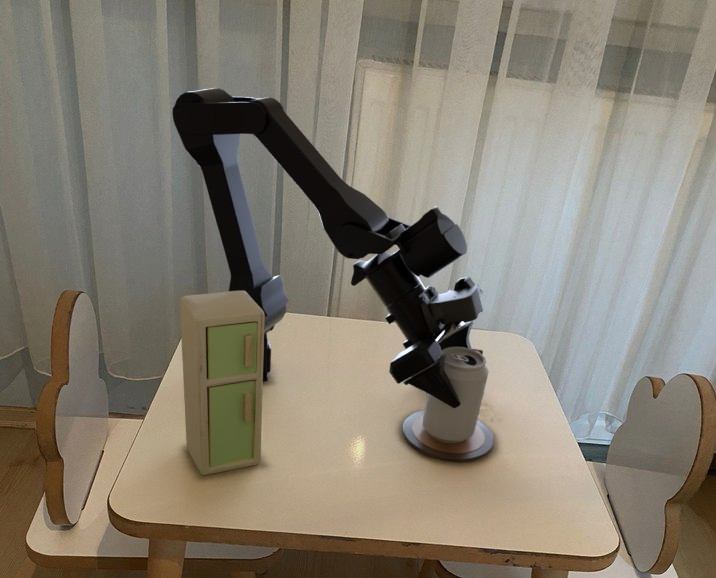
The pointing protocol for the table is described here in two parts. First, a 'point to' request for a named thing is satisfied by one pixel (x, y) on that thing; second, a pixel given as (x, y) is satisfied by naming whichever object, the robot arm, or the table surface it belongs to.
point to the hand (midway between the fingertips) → (467, 391)
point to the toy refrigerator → (222, 379)
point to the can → (469, 386)
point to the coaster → (445, 451)
